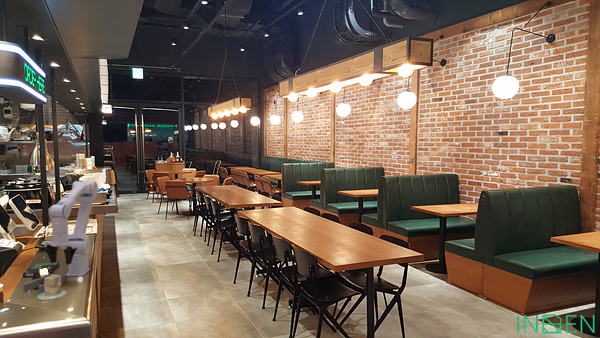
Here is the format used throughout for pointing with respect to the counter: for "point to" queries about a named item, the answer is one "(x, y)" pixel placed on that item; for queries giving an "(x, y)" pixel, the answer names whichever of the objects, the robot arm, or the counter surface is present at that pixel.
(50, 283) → the maple block
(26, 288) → the slot rack
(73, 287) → the counter surface
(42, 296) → the saucer
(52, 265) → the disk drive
